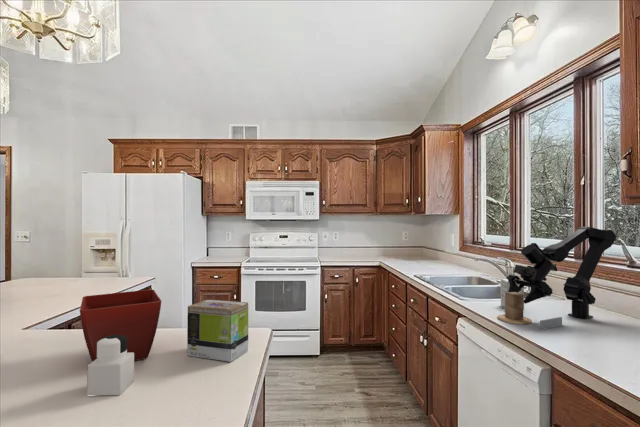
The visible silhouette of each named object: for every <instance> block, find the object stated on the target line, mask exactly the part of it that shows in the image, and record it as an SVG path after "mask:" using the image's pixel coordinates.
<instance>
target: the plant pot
mask: <svg viewBox="0 0 640 427" xmlns="http://www.w3.org/2000/svg"><path fill="white" fill-rule="evenodd" d="M161 307H162V299H161V298H160V297H159V296H158V293H156V291H155V290H154V289H143V290H133V291H122V292H113V293H104V294H92V295H86V296H85V295H84V296H83V297H82V299H81V304H80V309H79V315H80V322H81V328H82V332H83V337H84V341H85V344H86V348H87V351H88V354H89V357H90V360H91V363H92V362H93V361H94V360H96V359H97V342H98V341H99V340H100V339H101V338H103V337H106V336H110V335H123V336H126V337H127V353H131V352H133V353H134V362H136V361H142V360H145V359H148V357H149V356H150V352H151V350H152V346H153V344H154V340H155V336H156V334H157V328H158V324H159V318H160V314H161V310H162V309H161Z"/></svg>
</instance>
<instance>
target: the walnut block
mask: <svg viewBox="0 0 640 427" xmlns="http://www.w3.org/2000/svg"><path fill="white" fill-rule="evenodd" d="M504 310H505V311H504V314H505V317H506V318H509V319H511V320H523V317H524V309H523V294H520V293H516V292H505V307H504Z"/></svg>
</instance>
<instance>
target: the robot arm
mask: <svg viewBox="0 0 640 427" xmlns="http://www.w3.org/2000/svg"><path fill="white" fill-rule="evenodd" d="M616 239H617V235H616V233H615V232H614V230H612V229H601V228H600V229H599V228H595V227H592V226H580V227H578V228H577V230H575V231H574V232H573V233H571V234H570V235H568V236H566V237H565V238H564V239H562V240H561V241H559V242H557V243H553V244H550V245H548V246H545V247H544V248H542V249H541V247H540V246H539V245H538V244H537V242H531V243H530V244H528V245H525V246H524V247H522V249H521V250H520V254H521V255H522V256H523V257H524V258H525V259H526V260H527V261H528V262H529V264H533V266H532V265H527V266H524V265H520V264H516V265H515V267H514V269H513V273H515V274H518V275H515V274H509V275H507V277H506V279H508V282H509V283H510V287H509V291H508V292H516V293H518V292H519V291H521V288H523V287H524V288H525V287H528V288H530V291H529V293H527V295H526V297H524V301H523V302H524V305H526V304H528V303H531V302H533V301H534V302H535V300H539V299H542V298H547V297H551V295H552V294H553V288H552V287H551V286H550V285H549V284H548V283H547V282H546V281H547V280H548V279H547V278H546V277H547V276H548V275H549V273H550V272H551V271H553V272H558V268H557V264H554V263H553V262H556V263H561V262H563V261H565V260H566V258H567V257H568V256H569V254H570V251H571V250H573V249H575V248H576V247H577V246H579V245H580V244H581V243H583V242H584V241H586V240H587V241H588V245H589V246H588V249H587V251H586V253H585V255H584V257H583V259H582V262H581V264H580V265H579V267H578V270H577V272H576V274H575V275H574V276H573V277H568V276H567V278H566V280H565V283H563V293H564V295H565V298H566V300H568V301H569V300H570V301H571V313H568V314H567V316H568V317H569V316H570V317H574V318H579V319H583V320H587V319H591V318H594V315H590V305H593V304H595V303H596V297H595V296H594V295H593V294H592V293H591V289H592V287H591V283H590V281H591V279H592V277H593V275H594V272H595V270H596V268H597V266H598V264H599V262H600V260H601V257H602V256H603V253H604V252H605V251H606V250H608V249H610V248H611V247H612V246H613V244H614V243H615V241H616ZM519 276H520V277H519Z"/></svg>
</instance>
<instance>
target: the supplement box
mask: <svg viewBox="0 0 640 427" xmlns="http://www.w3.org/2000/svg"><path fill="white" fill-rule="evenodd" d="M509 287H510V283H509V282H508V279H507V278H500V306H502V307H503V308H505V292H508V291H509ZM518 293H520V294H523V301H524V300H525V286H524V287H523V288H521V291H519V292H518ZM523 310H525V303H524V302H523Z"/></svg>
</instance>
